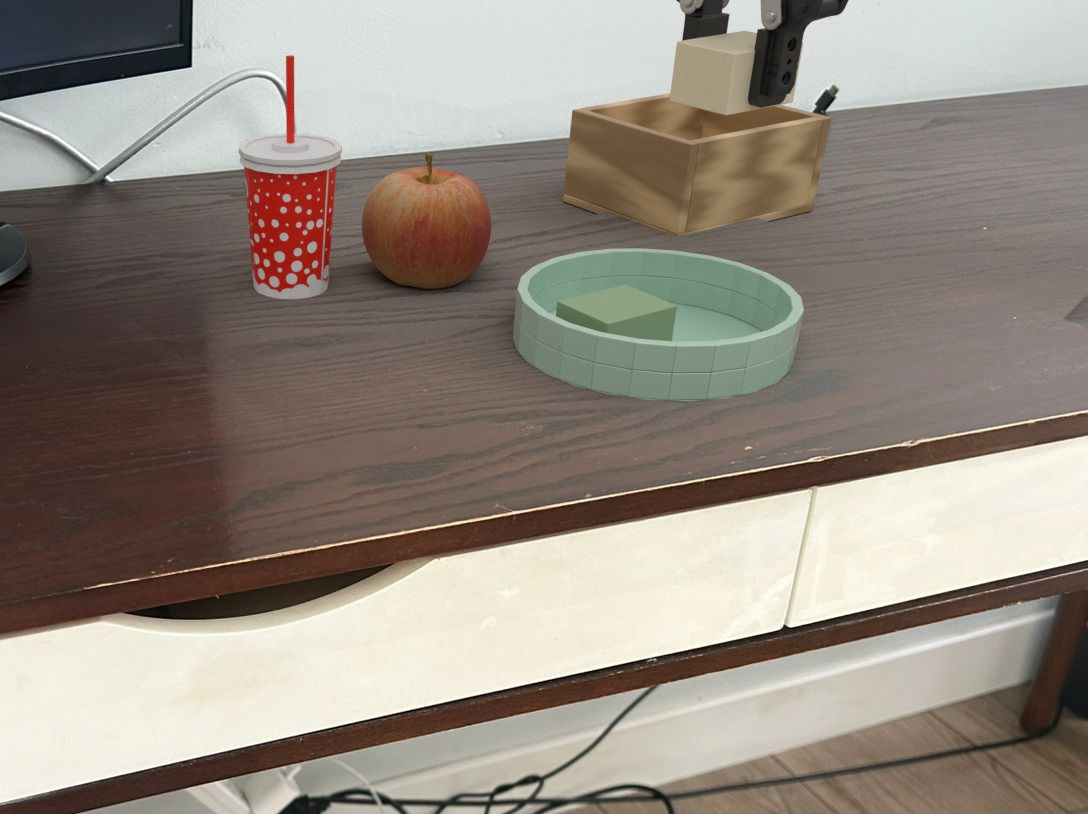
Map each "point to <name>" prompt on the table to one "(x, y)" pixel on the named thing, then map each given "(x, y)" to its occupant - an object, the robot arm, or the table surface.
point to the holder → (693, 163)
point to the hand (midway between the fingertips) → (731, 94)
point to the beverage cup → (290, 206)
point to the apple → (426, 227)
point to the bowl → (698, 337)
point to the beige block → (717, 73)
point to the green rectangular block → (621, 313)
